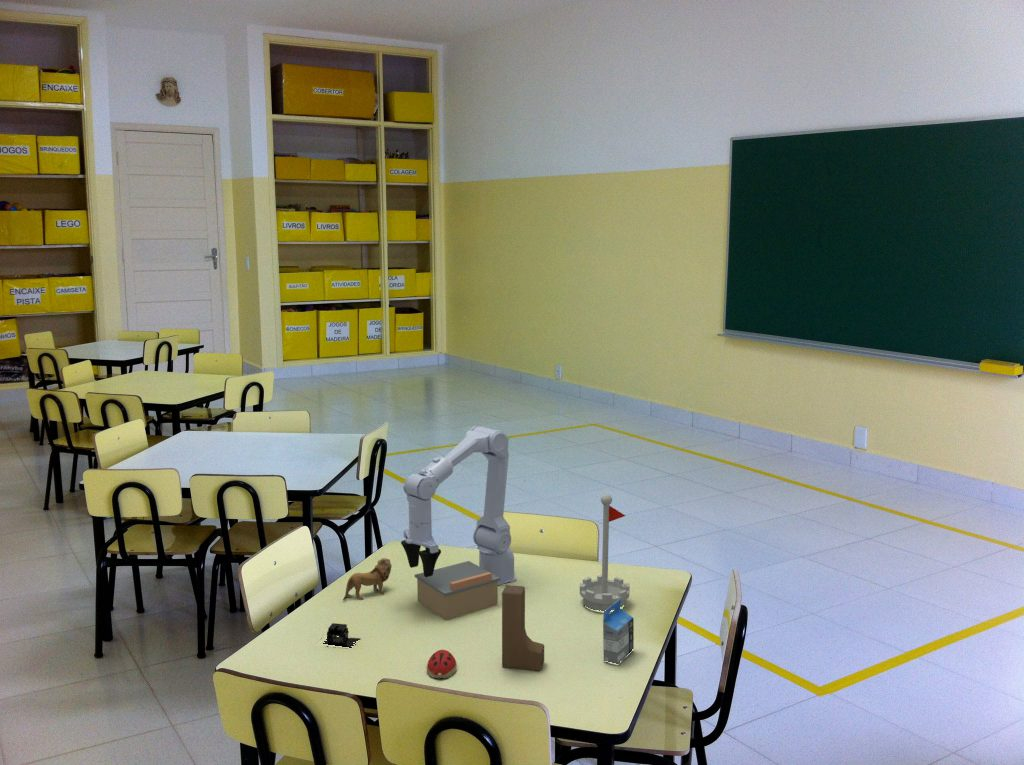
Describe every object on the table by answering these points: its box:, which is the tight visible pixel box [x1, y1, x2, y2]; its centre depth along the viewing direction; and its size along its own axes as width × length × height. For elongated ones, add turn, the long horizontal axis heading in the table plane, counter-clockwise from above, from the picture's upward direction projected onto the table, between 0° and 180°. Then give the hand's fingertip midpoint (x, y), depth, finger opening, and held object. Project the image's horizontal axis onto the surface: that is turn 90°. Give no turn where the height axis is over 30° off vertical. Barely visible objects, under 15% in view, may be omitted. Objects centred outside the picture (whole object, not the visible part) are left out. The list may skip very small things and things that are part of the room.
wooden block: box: [501, 584, 545, 671], centre depth 200 cm, size 9×4×18 cm, turn 78°
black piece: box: [323, 622, 362, 648], centre depth 212 cm, size 12×7×5 cm, turn 80°
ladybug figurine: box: [426, 649, 458, 679], centre depth 199 cm, size 7×10×4 cm
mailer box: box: [416, 578, 499, 621], centre depth 234 cm, size 16×14×6 cm
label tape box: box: [602, 599, 635, 665], centre depth 204 cm, size 9×4×12 cm, turn 148°
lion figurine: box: [342, 557, 392, 601], centre depth 239 cm, size 15×5×9 cm, turn 130°
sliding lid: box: [414, 560, 500, 596], centre depth 233 cm, size 17×15×2 cm
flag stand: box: [579, 493, 631, 611], centre depth 232 cm, size 13×13×30 cm
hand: (421, 571), depth 230 cm, fingers open, 7 cm apart
